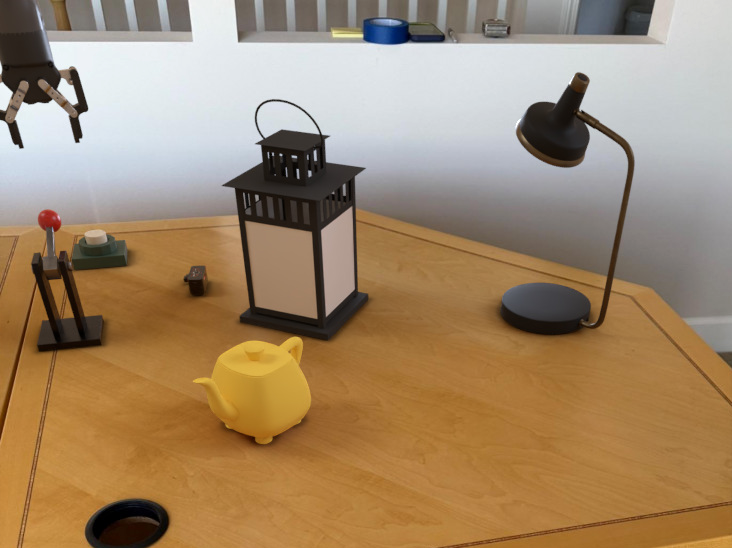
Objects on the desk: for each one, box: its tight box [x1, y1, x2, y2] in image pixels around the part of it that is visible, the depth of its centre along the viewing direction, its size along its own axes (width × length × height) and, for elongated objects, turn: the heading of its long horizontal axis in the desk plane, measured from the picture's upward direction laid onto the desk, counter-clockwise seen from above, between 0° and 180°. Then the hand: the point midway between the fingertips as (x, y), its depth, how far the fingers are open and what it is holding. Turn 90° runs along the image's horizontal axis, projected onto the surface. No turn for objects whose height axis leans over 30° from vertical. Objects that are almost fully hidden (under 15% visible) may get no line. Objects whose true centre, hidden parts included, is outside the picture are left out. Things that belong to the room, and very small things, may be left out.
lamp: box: [499, 71, 636, 336], centre depth 127 cm, size 16×22×38 cm
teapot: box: [192, 336, 312, 445], centre depth 109 cm, size 13×20×12 cm
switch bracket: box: [30, 250, 105, 352], centre depth 128 cm, size 9×10×14 cm
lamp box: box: [71, 233, 129, 271], centre depth 155 cm, size 10×8×4 cm
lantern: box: [221, 98, 369, 341], centre depth 129 cm, size 17×17×35 cm
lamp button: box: [84, 229, 107, 245], centre depth 153 cm, size 4×4×2 cm
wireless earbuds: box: [183, 265, 209, 296], centre depth 146 cm, size 5×7×3 cm, turn 4°
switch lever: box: [37, 208, 63, 281], centre depth 126 cm, size 13×4×4 cm, turn 14°
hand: (49, 144), depth 124 cm, fingers open, 8 cm apart
